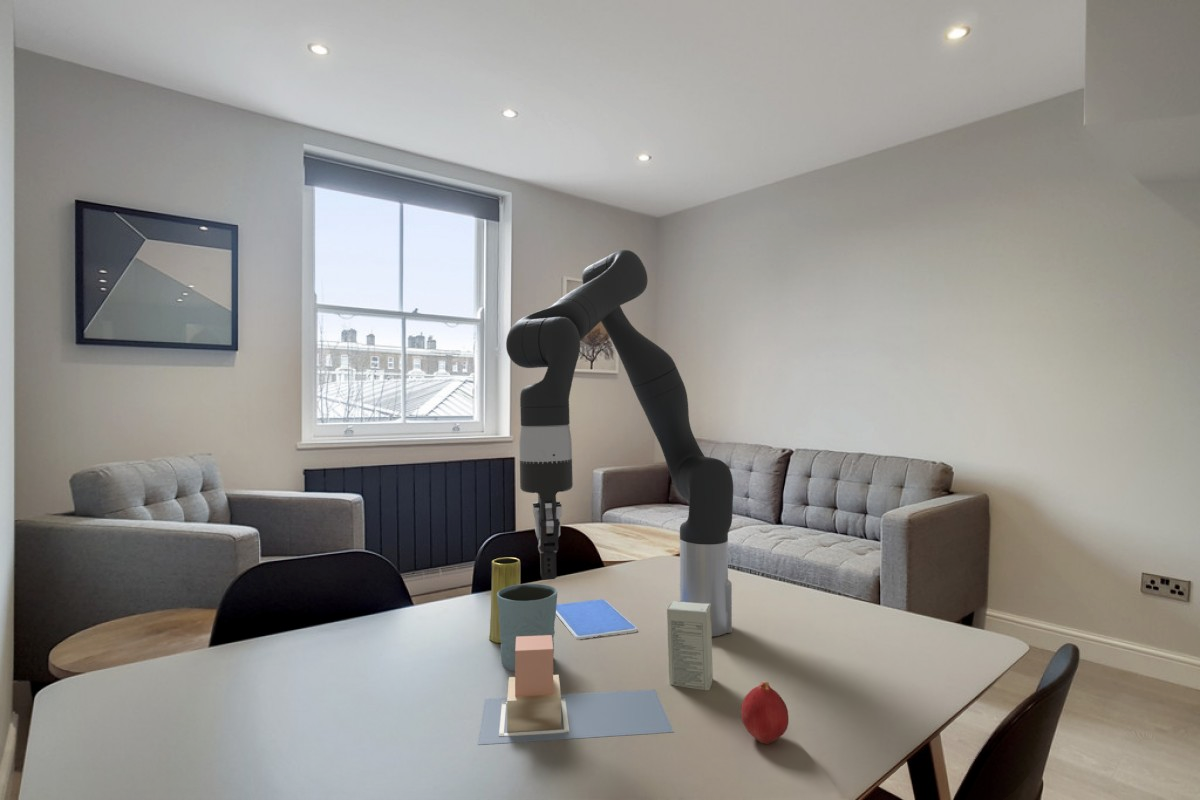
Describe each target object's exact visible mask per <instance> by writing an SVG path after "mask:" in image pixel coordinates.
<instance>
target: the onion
mask: <svg viewBox="0 0 1200 800" xmlns="http://www.w3.org/2000/svg"><path fill="white" fill-rule="evenodd" d="M740 714H741V715H740V716H741V721H742V724H743V726H744V727H745V729H746V730H747V732H748V733H749V735H751V737H753V738H755V739H756V740H757V742H759V743H761V744H767V745H768V744H772V743H773V742H775V741H776V740H778V739H779V738H781V736H783V735H784V734H785V732H786V731H787V729H788V726H789V711H788V707H787V703H786V702H785V701H784V700H783V698H782V697H781V695H780V694H779V692H778V691H776V690H775V689H773V688H772V687H771V686H770V685H769V682H768V681H766V680H763V681H762V682H761V683H760V684H759V685H758V686H756V687H754V688H752V689H751V690H750V691H749V692H748V693H747V694H746V695H745V696H744V699H743V700H742V704H741V713H740Z"/></svg>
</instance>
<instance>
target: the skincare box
mask: <svg viewBox="0 0 1200 800" xmlns="http://www.w3.org/2000/svg"><path fill="white" fill-rule="evenodd" d="M666 615H667V619H666V620H667V621H666V622H667V649H668V650H667V651H668V652H667V653H668V654H667V656H668V681H669V682H668V683H669V685H670V686H675V687H681V688H687V689H695V690H702V691H710V689H711V686H712V684H713V680H714V677H713V676H714V675H713V673H714V672H713V641H712V640H713V636H712V631H711V604H706V603H694V602H681V601H680V600H679V601H677V600H673V601H672V602H671V603H670V604H669V605H668V606H667V608H666Z"/></svg>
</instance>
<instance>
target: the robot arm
mask: <svg viewBox="0 0 1200 800" xmlns="http://www.w3.org/2000/svg"><path fill="white" fill-rule="evenodd" d="M581 276H582V277H581V281H582V285H579V286H578V287H576V288H574V289H572V290H571V291H570V292H568V293H567V294H565V295H564V296H562V297H560V298H559V299H558V300H557V301H556V302H554V303H553V304H552V305H550V306H548V307H546V308H543V309H540V310H538V311H535V312H533V313H530V314H528V315H526V316H523V317H521V318H520V319H519V320H517V321H516V322H515V323H514V324H513V325H512V326H511V328H510V329H509V331H508V334H507V337H506V342H505V348H506V352H507V356H508V357H509V359H510V360H511V361H512V362H513V363H514V364H515V365H516V366H519V367H521V368H524V369H538V368H547V369H546V372H545V374H544V377H543V379H542V380H540V381H538V382H535V383H532V384H530V385H529V384H528V385H526V386H525V387H523V388H522V389H521V391H520V397H519V404H520V405H519V407H520V409H519V410H520V434H519V443H518V444H519V447H518V448H519V451H518V452H519V483H520V484H519V488H520V490H521V491H522V492H525V493H528V494H535V493H536V494H537V502H532V513H533V517H534V531H535V537H536V538H537V542H538V545H537V549H538V552H539V557H540V558H539V559H540V560H539V561H540V563H539V564H540V566H539V567H540V569H539V570H540V578H541V579H542V581H543V580H544V581H546V580H548V581H549V580H555V579H556V578H557V576H558V575H557V552H558V551H559V548H560V546H559V537H560V536H561V518H562V515H563V509H562V503H561V501H558V500H557V494H558V493H560V492H561V493H562V492H567V491H570V490H571V489H572V488H573V485H574V484H573V443H572V434H571V427H570V395H571V394H570V393H571V388H572V386H573V385H572V383H573V380H574V375H575V370H576V367H577V362H578V359H579V354H580V350H581V341H582V340H583V339H584V338H585V337H586V336H587V335H589V333H590V332H591V331H592V330H594V328H595V327H597V326H598V325H599V324H600V323H601V324H602V326H603V328H604V330H605V332H606V333H607V335H608V336H609V339H610V340H611V342H612V344H613V346H614V348H615V350H616V352H617V354H618V357H619V358H620V360H621V361H620V362H621V364H622V365H623V367H624V370H625V373H626V374H627V377H628V380H629V382H630V384H631V386H632V389H633V391H634V392H635V395H636V398H637V400H638V402H639V404H640V406H641V408H642V410H643V412H644V414H645V416H646V418H647V420H648V423H649V425H650V426H651V427H650V428H651V429H652V431H653V434H654V435H655V437H656V439H657V441H658V443H659V445H660V449H661V451H662V453H663V457H664V459H665V462H666V463H665V464H666V465H667V469H668V471H669V475H670V477H671V481H672V483H673V486H674V488H675V490H676V491H677V493H678V495H680V496H681V497H682V498H683V499H684V500H686V501H689V502H688V517H687V520H686V521H683V522H682V523H681V524H680V526H679V601H681V602H694V603H706V604H711V631H712V637H719V636H723V635H725V634H727V633H728V634H730V633H731V634H732V633H733V621H732V620H733V619H732V617H733V613H732V612H733V611H732V609H733V607H732V606H733V603H732V602H733V597H732V595H733V592H732V591H733V590H732V589H733V588H732V581H730V580H729V539H728V538H729V531H730V529H731V526H732V522H733V512H734V511H733V509H734V504H733V503H734V480H733V479H734V478H733V475H732V472H731V469H730V467H729V466H728V465H727V463H726V462H724V461H723V460H721V459H718V458H715V457H709V456H705V454H704V453H703V452H702V449H701V447H700V446H699V444H698V442H697V439H696V438H695V435H694V434H693V431H692V428H691V423H690V415H689V414H690V413H689V401H688V400H689V399H688V394H687V389H686V386H685V383H684V381H683V378H682V376H681V374H680V372H679V369H678V366H677V365H676V363H675V361H674V360H673V358H672V356H671V355H670V354H669V353H668V352H667V351H665V350H664V349H663V348H662V347H660V346H659V345H657V344H656V343H654V342H653V341H652V340H651V339H649V338H647V337H646V336H644V335H643V334H642V333H641V332H639V331H638V330H637V329H636V328H635V327H634V325H632V323H631V321H629V319H628V318H627V315H625V313H624V311H623V309H622V307H621V306H623V305H624V304H626V303H628V302H630V301H633V300H634V299H636V298H638V297H639V296H641V295H642V294H643V293H644V292H645V291H646V289H647V285H648V273H647V270H646V267H645V265H644V263H643V262H642V260H641V258H640V257H639V256H638V255H637V254H636V253H635V252H633V251H631V250H630V249H622V250H617V251H615V252H612V253H611V254H609V255H607V256H605V257H604V258H601V259H599V260H598V261H596V262H594V263H592V264H589V265H588V266H587V267H586V268H584V269H583V271H582V275H581Z"/></svg>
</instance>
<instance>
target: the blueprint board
mask: <svg viewBox="0 0 1200 800" xmlns="http://www.w3.org/2000/svg"><path fill="white" fill-rule="evenodd" d="M670 733H675V731H674V729H673V726H672V724H671V722H670V720H669V718H668V715H667V713H666V711H665V709H664V707H663V704H662V702H661V700H660V698H659V696H658V692H657V691H656V689H655V688H653V689H652V688H651V689H637V690H635V689H634V690H633V689H632V690H617V691H602V692H601V691H600V692H584V693H581V692H580V693H567V694H566V693H564V694H563V693H561V729H550V730H534V731H518V732H507V697H491V698H484V703H483V709H482V716H481V722H480V730H479V734H478V736H479V737H478V742H477V746H483V745H484V746H485V745H497V744H498V745H499V744H514V743H515V744H516V743H531V742H543V741H544V742H545V741H546V742H547V741H559V740H560V741H561V740H562V741H563V740H574V739H575V740H577V739H591V738H593V739H594V738H606V737H607V738H608V737H620V736H622V737H623V736H624V737H625V736H638V735H652V734H653V735H655V734H670Z"/></svg>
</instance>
